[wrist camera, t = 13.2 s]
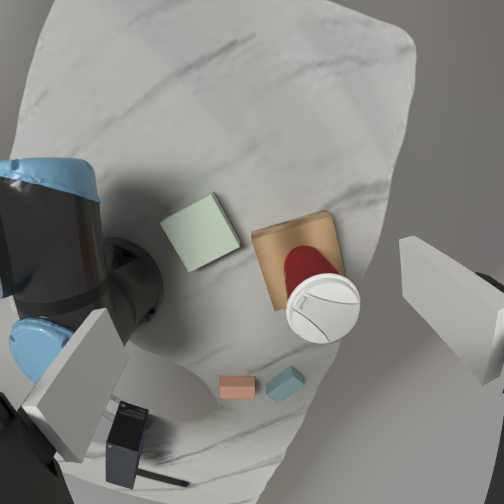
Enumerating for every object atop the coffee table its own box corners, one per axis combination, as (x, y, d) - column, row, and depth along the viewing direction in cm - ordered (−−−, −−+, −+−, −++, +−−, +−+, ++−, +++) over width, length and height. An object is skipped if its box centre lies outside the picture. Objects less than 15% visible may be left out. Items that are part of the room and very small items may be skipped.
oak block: (272, 298, 50) (274, 311, 46) (251, 232, 46) (251, 239, 43) (340, 277, 49) (348, 288, 45) (324, 209, 46) (331, 215, 42)
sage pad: (192, 265, 48) (189, 272, 45) (164, 218, 45) (159, 223, 43) (240, 240, 47) (239, 247, 44) (213, 191, 44) (210, 194, 42)
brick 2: (276, 391, 56) (277, 402, 53) (265, 383, 55) (266, 394, 52) (301, 374, 55) (304, 384, 52) (290, 365, 54) (293, 376, 51)
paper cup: (264, 275, 44) (272, 329, 31) (294, 227, 42) (316, 264, 29) (312, 299, 45) (335, 358, 32) (342, 254, 43) (379, 300, 30)
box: (143, 452, 62) (132, 490, 51) (116, 443, 61) (103, 480, 50) (151, 409, 57) (138, 454, 46) (120, 399, 57) (102, 441, 45)
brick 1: (221, 387, 56) (220, 398, 53) (220, 375, 55) (219, 386, 52) (254, 387, 56) (254, 398, 53) (254, 375, 55) (254, 386, 52)
